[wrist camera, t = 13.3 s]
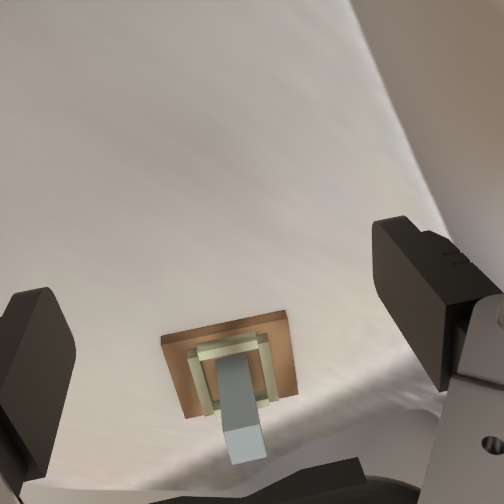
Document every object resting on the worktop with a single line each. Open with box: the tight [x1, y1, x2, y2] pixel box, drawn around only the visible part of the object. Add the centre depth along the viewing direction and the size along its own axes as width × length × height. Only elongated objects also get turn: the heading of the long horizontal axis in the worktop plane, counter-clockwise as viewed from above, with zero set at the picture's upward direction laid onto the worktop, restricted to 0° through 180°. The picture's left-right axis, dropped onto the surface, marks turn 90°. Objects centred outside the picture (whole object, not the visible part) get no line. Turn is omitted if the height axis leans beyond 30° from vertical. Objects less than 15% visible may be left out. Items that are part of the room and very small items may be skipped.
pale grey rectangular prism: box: [215, 353, 267, 465], centre depth 51 cm, size 4×5×10 cm
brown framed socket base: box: [161, 310, 298, 419], centre depth 55 cm, size 14×12×3 cm
